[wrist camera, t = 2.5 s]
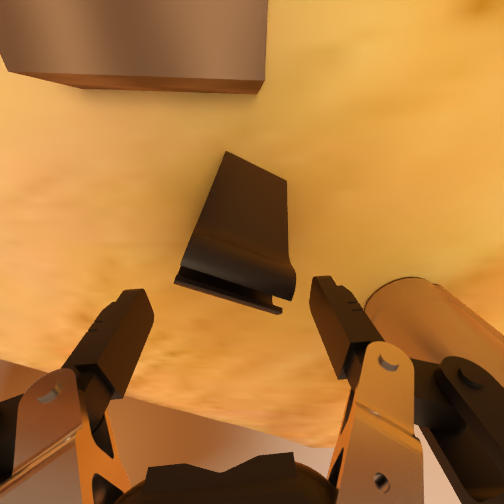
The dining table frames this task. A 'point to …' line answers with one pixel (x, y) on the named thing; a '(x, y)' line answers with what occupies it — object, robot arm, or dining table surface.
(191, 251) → the phone stand
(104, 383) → the robot arm
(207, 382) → the dining table surface
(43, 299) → the dining table surface
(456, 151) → the dining table surface
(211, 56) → the walnut block
